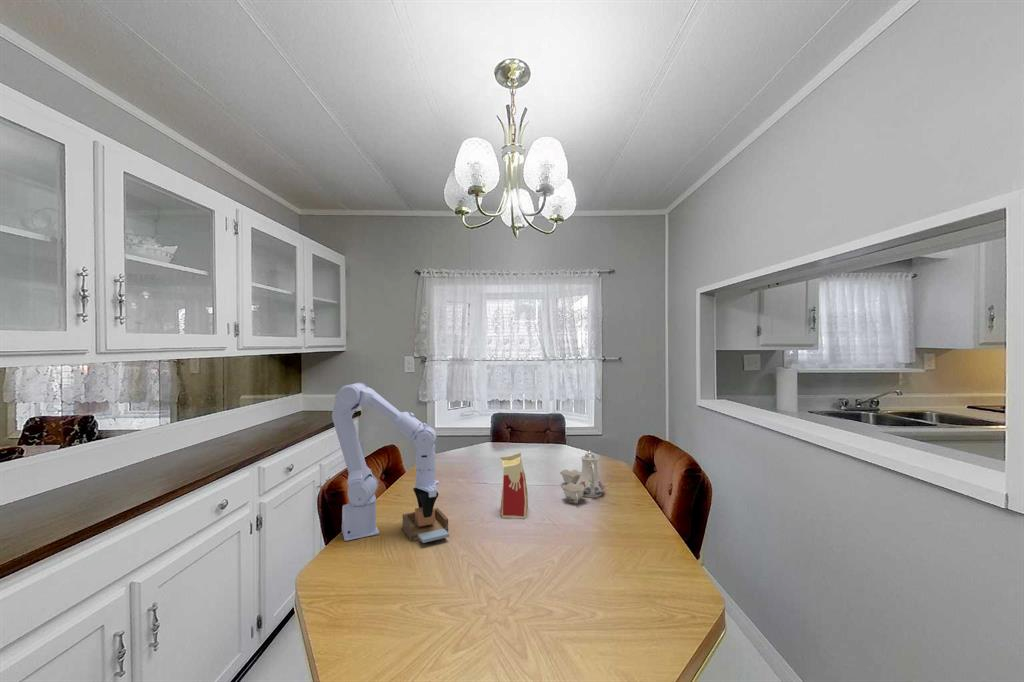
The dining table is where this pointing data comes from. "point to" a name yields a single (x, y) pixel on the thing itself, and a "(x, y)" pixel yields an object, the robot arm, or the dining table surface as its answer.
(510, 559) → the dining table surface
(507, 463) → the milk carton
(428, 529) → the crate
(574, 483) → the chinaware
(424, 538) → the panel
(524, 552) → the dining table surface
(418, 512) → the orange brown block
